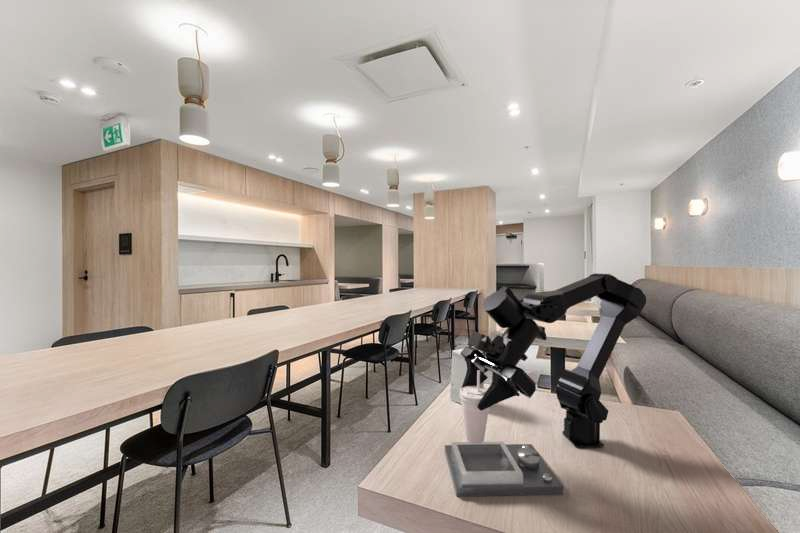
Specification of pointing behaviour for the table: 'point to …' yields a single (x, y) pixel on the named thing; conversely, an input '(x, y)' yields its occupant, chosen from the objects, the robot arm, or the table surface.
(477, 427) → the smoothie
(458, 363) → the skincare box
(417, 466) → the table surface
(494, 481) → the grey tray with knobs
